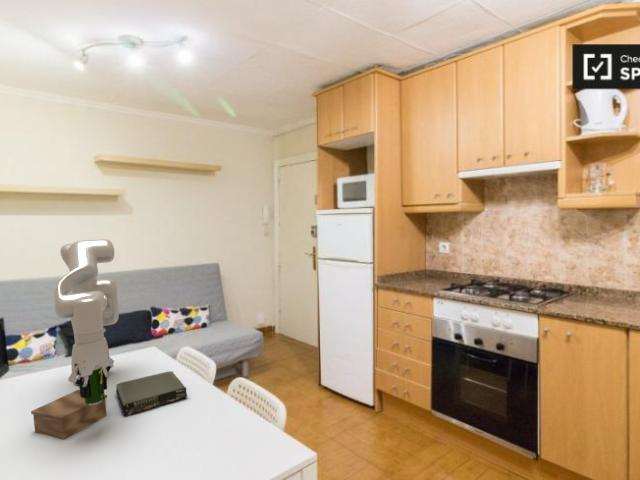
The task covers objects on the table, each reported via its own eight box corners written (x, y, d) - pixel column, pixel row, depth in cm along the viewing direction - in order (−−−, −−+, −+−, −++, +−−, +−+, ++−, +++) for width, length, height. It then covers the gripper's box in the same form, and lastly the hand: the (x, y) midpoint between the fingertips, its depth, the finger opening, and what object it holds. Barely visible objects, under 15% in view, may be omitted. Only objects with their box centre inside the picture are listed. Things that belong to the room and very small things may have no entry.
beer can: (85, 407, 120) (82, 369, 119) (84, 400, 125) (81, 363, 124) (105, 402, 123) (102, 365, 122) (103, 395, 128) (101, 359, 127)
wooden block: (79, 408, 141) (77, 389, 140) (108, 414, 136) (106, 394, 135) (32, 432, 126) (30, 411, 126) (63, 440, 121) (61, 418, 121)
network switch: (126, 421, 132) (125, 406, 132) (108, 398, 150) (107, 385, 149) (193, 397, 147) (193, 384, 147) (170, 379, 165) (169, 367, 165)
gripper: (104, 327, 131) (108, 380, 133) (54, 344, 116) (59, 404, 117) (121, 329, 129) (125, 383, 130) (72, 347, 113) (77, 408, 114)
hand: (94, 392), depth 124 cm, fingers closed on beer can, 5 cm apart
